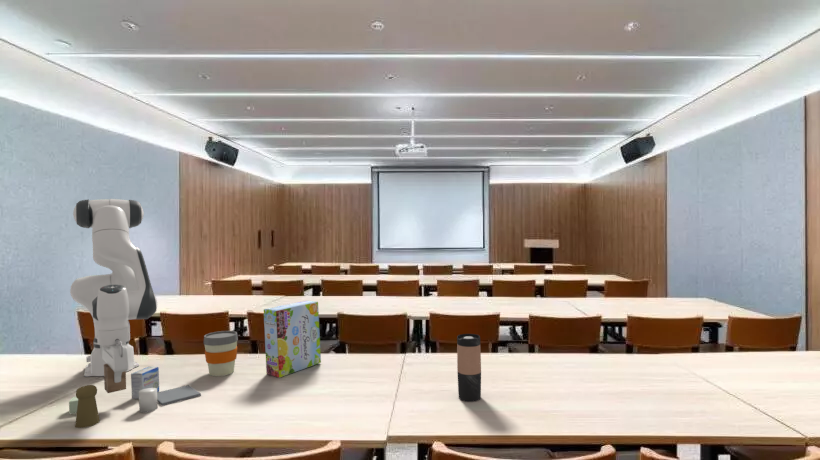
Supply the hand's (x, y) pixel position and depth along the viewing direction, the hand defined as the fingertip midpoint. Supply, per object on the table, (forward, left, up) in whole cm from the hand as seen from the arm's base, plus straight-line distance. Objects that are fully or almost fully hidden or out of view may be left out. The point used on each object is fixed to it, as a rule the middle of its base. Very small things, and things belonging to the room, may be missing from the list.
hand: (115, 379), depth 150 cm
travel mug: (+77, +84, -9) cm, 114 cm away
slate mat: (+4, +17, -9) cm, 20 cm away
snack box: (+7, +60, -9) cm, 61 cm away
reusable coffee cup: (-10, +38, -9) cm, 40 cm away
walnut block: (0, 0, -3) cm, 3 cm away
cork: (+8, -9, -9) cm, 15 cm away
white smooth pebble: (+10, +7, -9) cm, 15 cm away
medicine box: (-5, +10, -9) cm, 15 cm away
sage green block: (-5, -8, -9) cm, 13 cm away
